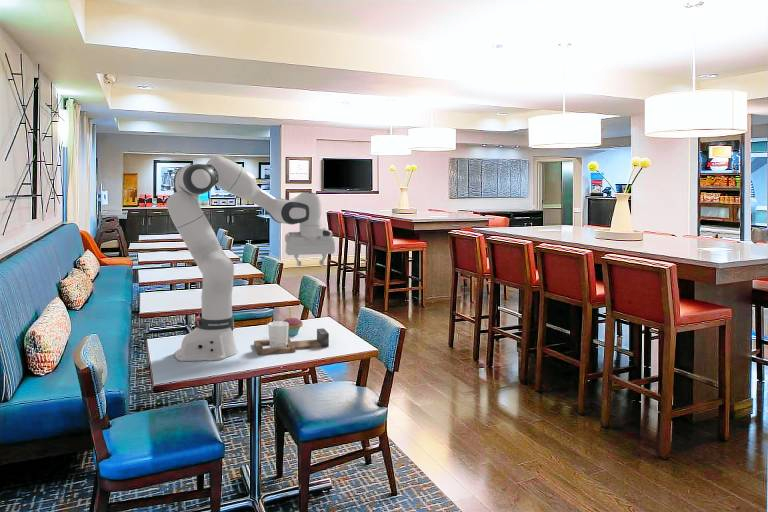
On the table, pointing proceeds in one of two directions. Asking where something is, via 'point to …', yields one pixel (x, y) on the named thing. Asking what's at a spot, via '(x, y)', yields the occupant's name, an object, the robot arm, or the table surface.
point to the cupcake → (293, 325)
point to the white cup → (278, 334)
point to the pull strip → (295, 344)
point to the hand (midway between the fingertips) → (310, 265)
